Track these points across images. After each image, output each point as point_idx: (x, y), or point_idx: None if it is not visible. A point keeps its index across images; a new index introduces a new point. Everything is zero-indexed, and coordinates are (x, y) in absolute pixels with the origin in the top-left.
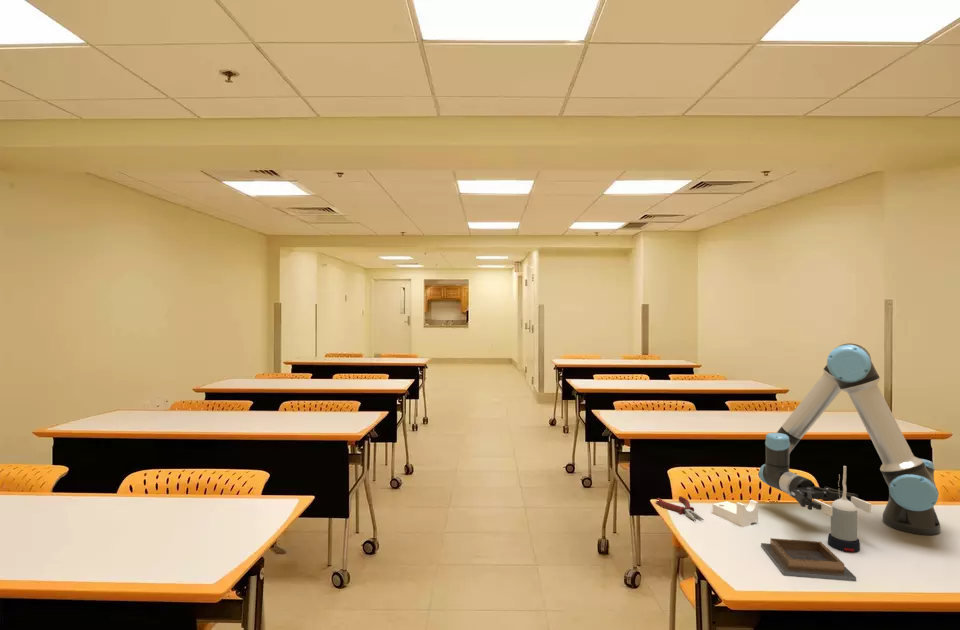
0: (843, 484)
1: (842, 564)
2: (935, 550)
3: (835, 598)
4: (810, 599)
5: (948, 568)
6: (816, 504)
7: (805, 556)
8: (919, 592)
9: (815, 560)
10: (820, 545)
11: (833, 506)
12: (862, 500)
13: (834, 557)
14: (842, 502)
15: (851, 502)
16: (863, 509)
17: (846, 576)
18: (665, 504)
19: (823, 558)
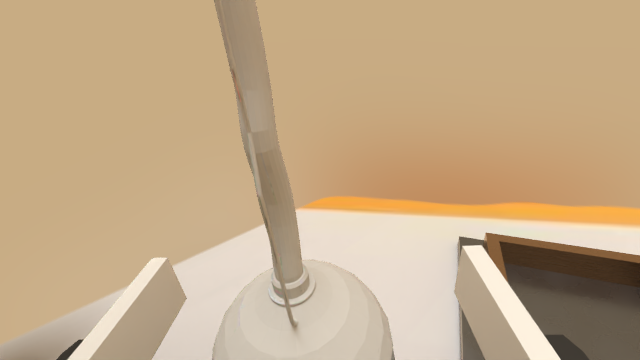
0: (281, 154)
1: (490, 235)
2: (49, 348)
3: (539, 206)
4: (600, 206)
5: (185, 263)
6: (584, 354)
7: (599, 356)
8: (354, 210)
9: (579, 252)
10: None
11: (389, 346)
12: (112, 312)
13: (500, 260)
14: (337, 275)
15: (258, 278)
16: (163, 332)
17: (483, 240)
18: None
19: None
